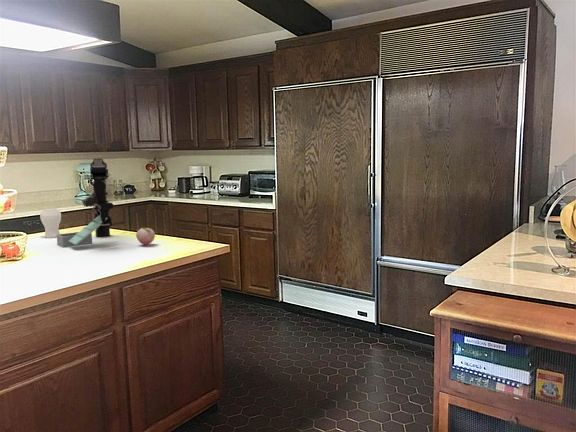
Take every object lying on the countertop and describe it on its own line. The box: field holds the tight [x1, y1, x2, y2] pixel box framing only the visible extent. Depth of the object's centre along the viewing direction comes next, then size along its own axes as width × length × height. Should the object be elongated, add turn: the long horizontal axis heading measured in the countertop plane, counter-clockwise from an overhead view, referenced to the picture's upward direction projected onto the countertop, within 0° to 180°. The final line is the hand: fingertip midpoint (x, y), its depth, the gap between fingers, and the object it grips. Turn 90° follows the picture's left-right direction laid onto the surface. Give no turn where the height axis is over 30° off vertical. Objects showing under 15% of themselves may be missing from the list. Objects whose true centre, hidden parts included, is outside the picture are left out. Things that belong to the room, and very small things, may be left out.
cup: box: [39, 208, 62, 239], centre depth 269 cm, size 11×11×15 cm
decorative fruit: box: [135, 227, 156, 246], centre depth 241 cm, size 9×8×10 cm
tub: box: [56, 231, 93, 249], centre depth 243 cm, size 14×10×6 cm
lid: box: [69, 215, 107, 245], centre depth 235 cm, size 20×11×3 cm
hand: (101, 221), depth 239 cm, fingers closed on lid, 3 cm apart
